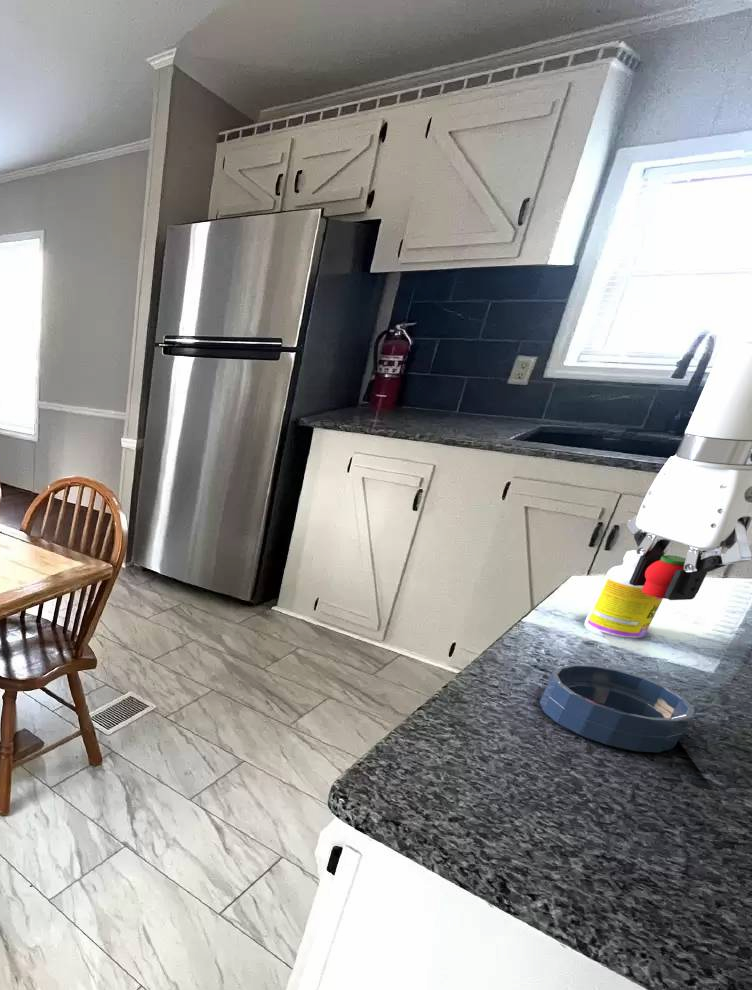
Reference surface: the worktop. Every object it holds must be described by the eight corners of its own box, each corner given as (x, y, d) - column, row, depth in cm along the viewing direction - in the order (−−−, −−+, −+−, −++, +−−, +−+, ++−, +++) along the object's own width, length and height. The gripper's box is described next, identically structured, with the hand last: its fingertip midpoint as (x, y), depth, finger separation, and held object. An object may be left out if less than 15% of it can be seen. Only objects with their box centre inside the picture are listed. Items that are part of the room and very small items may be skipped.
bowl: (652, 712, 79) (670, 679, 77) (691, 768, 70) (713, 732, 68) (529, 688, 85) (543, 656, 83) (550, 736, 76) (567, 702, 74)
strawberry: (674, 591, 83) (690, 555, 81) (686, 602, 80) (704, 565, 78) (632, 586, 85) (648, 551, 83) (643, 597, 82) (659, 561, 80)
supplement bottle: (643, 647, 94) (683, 567, 88) (582, 634, 98) (618, 556, 92) (640, 631, 98) (679, 554, 93) (583, 619, 102) (617, 544, 97)
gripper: (846, 464, 67) (763, 618, 75) (682, 437, 83) (627, 567, 90) (774, 467, 68) (699, 620, 75) (624, 439, 83) (573, 569, 90)
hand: (660, 590), depth 83 cm, fingers closed on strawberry, 3 cm apart
